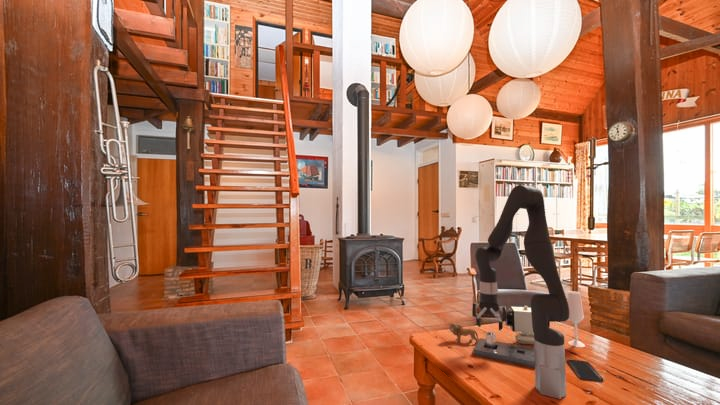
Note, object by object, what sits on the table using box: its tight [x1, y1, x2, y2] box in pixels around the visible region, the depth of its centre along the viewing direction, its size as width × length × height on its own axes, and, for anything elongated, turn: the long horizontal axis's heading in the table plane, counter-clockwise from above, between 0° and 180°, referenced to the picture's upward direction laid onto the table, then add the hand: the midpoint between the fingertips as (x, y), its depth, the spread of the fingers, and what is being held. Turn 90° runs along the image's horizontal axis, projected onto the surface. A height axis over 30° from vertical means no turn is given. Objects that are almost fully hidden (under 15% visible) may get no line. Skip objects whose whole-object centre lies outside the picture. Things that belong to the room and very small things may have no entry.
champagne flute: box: [567, 290, 586, 348], centre depth 149 cm, size 7×7×24 cm
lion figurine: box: [448, 321, 480, 345], centre depth 153 cm, size 15×5×9 cm, turn 80°
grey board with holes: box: [472, 338, 535, 369], centre depth 139 cm, size 14×24×2 cm, turn 59°
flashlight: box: [485, 331, 496, 350], centre depth 142 cm, size 4×4×8 cm
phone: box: [566, 359, 604, 383], centre depth 124 cm, size 8×1×15 cm
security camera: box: [504, 305, 551, 346], centre depth 150 cm, size 18×8×18 cm, turn 75°
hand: (489, 328), depth 142 cm, fingers open, 8 cm apart
